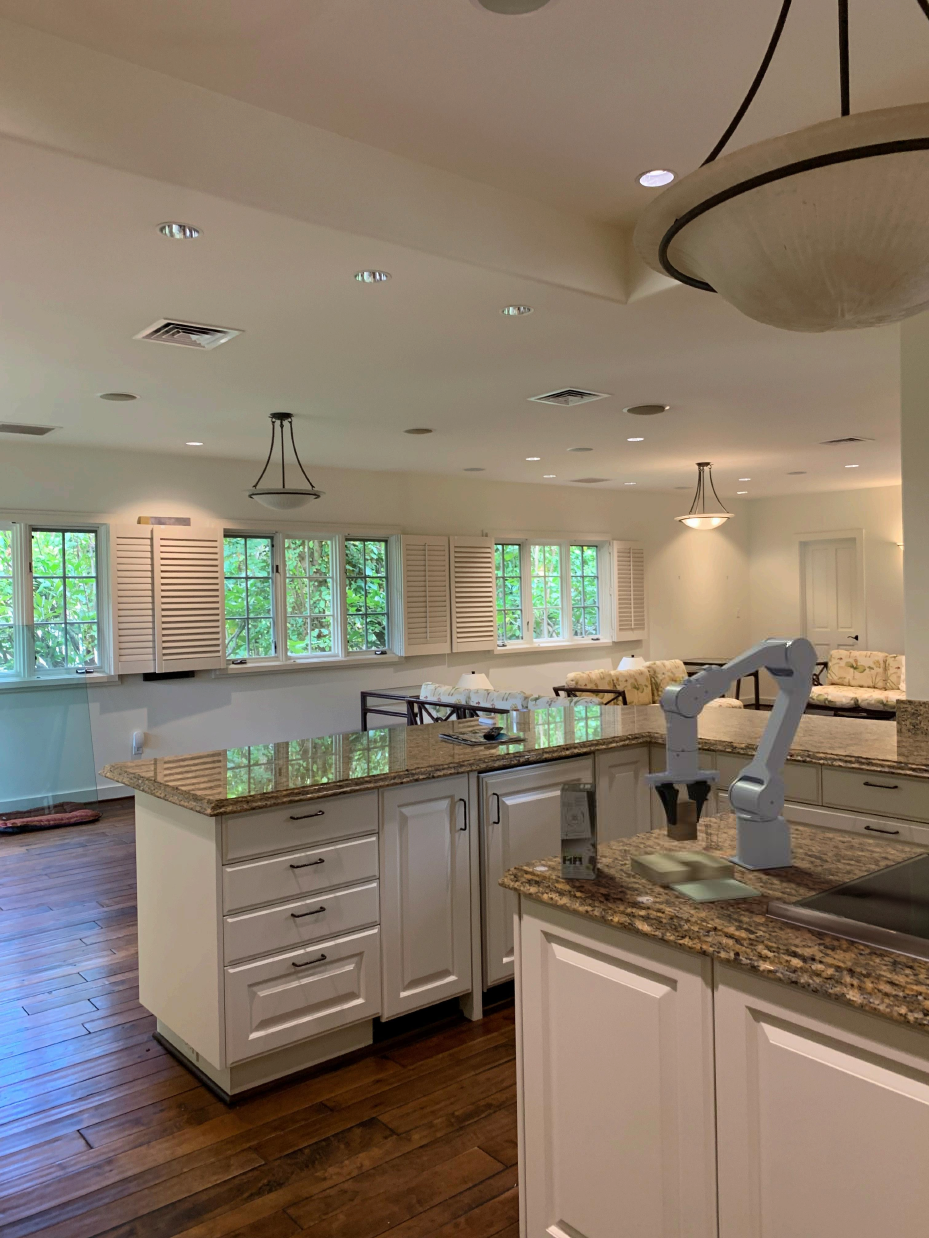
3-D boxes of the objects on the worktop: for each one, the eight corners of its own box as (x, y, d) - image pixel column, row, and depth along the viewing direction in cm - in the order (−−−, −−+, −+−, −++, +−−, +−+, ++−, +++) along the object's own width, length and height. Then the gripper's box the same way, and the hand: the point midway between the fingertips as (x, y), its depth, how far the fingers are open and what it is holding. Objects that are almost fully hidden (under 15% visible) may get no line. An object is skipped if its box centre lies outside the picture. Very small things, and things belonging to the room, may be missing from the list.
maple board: (701, 862, 169) (701, 849, 169) (734, 878, 159) (734, 864, 159) (631, 870, 165) (630, 856, 165) (660, 886, 155) (659, 872, 155)
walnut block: (686, 835, 166) (685, 797, 166) (697, 839, 162) (696, 801, 162) (667, 836, 165) (666, 799, 165) (677, 841, 161) (676, 802, 161)
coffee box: (596, 880, 159) (594, 790, 160) (560, 878, 161) (559, 790, 161) (598, 866, 168) (597, 781, 168) (564, 865, 170) (563, 781, 170)
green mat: (728, 879, 158) (728, 877, 158) (761, 895, 149) (761, 892, 149) (669, 886, 155) (669, 883, 155) (698, 902, 145) (698, 899, 145)
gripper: (705, 744, 169) (706, 815, 169) (636, 748, 165) (637, 821, 165) (725, 749, 162) (727, 823, 162) (654, 753, 158) (655, 829, 158)
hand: (683, 823), depth 163 cm, fingers closed on walnut block, 4 cm apart
